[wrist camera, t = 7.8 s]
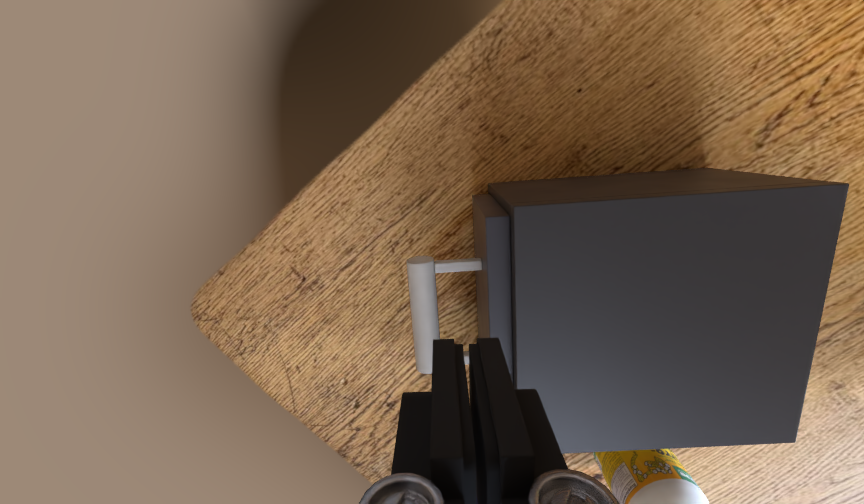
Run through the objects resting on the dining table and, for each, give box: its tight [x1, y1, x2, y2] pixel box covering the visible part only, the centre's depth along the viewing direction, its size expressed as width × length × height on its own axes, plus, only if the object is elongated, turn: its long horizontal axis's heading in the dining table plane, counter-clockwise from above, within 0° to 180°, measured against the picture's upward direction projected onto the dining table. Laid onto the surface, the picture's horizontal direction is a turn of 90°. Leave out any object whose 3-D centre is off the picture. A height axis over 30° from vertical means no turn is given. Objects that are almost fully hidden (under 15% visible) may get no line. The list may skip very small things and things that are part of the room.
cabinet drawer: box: [406, 194, 513, 383], centre depth 25 cm, size 18×13×8 cm
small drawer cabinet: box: [488, 168, 849, 454], centre depth 25 cm, size 15×14×10 cm
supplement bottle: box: [593, 449, 709, 504], centre depth 29 cm, size 5×5×10 cm
